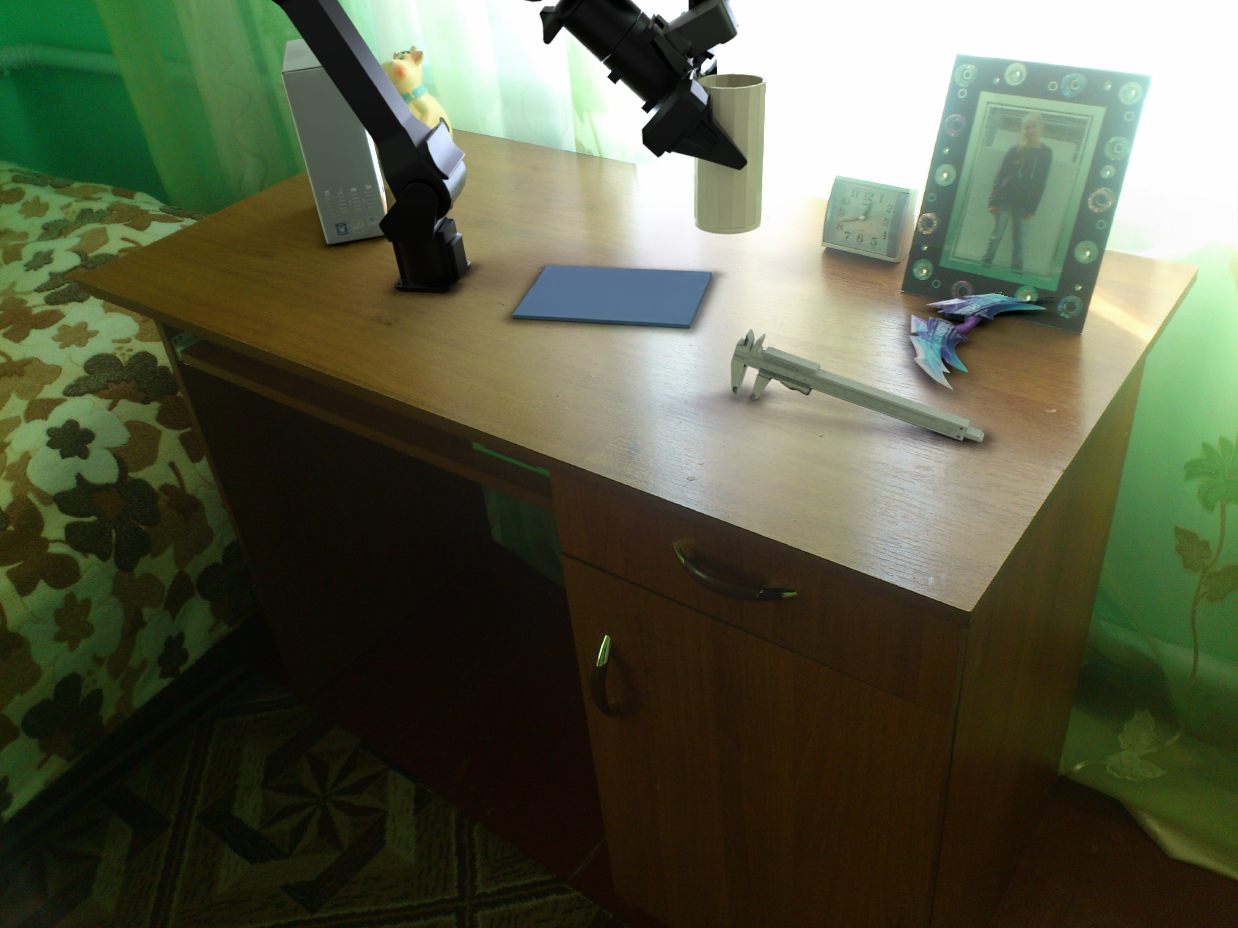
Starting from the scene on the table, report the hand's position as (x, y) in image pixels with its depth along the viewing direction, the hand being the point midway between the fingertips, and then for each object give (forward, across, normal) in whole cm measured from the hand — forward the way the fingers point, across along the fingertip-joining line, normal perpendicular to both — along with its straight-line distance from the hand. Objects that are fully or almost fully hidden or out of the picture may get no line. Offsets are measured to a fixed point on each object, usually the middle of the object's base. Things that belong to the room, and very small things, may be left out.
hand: (745, 152), depth 93 cm
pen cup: (+4, -1, +6) cm, 7 cm away
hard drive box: (-25, +17, +43) cm, 53 cm away
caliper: (+15, -26, +2) cm, 31 cm away
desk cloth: (0, -5, +18) cm, 19 cm away
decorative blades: (+23, -13, -6) cm, 27 cm away
